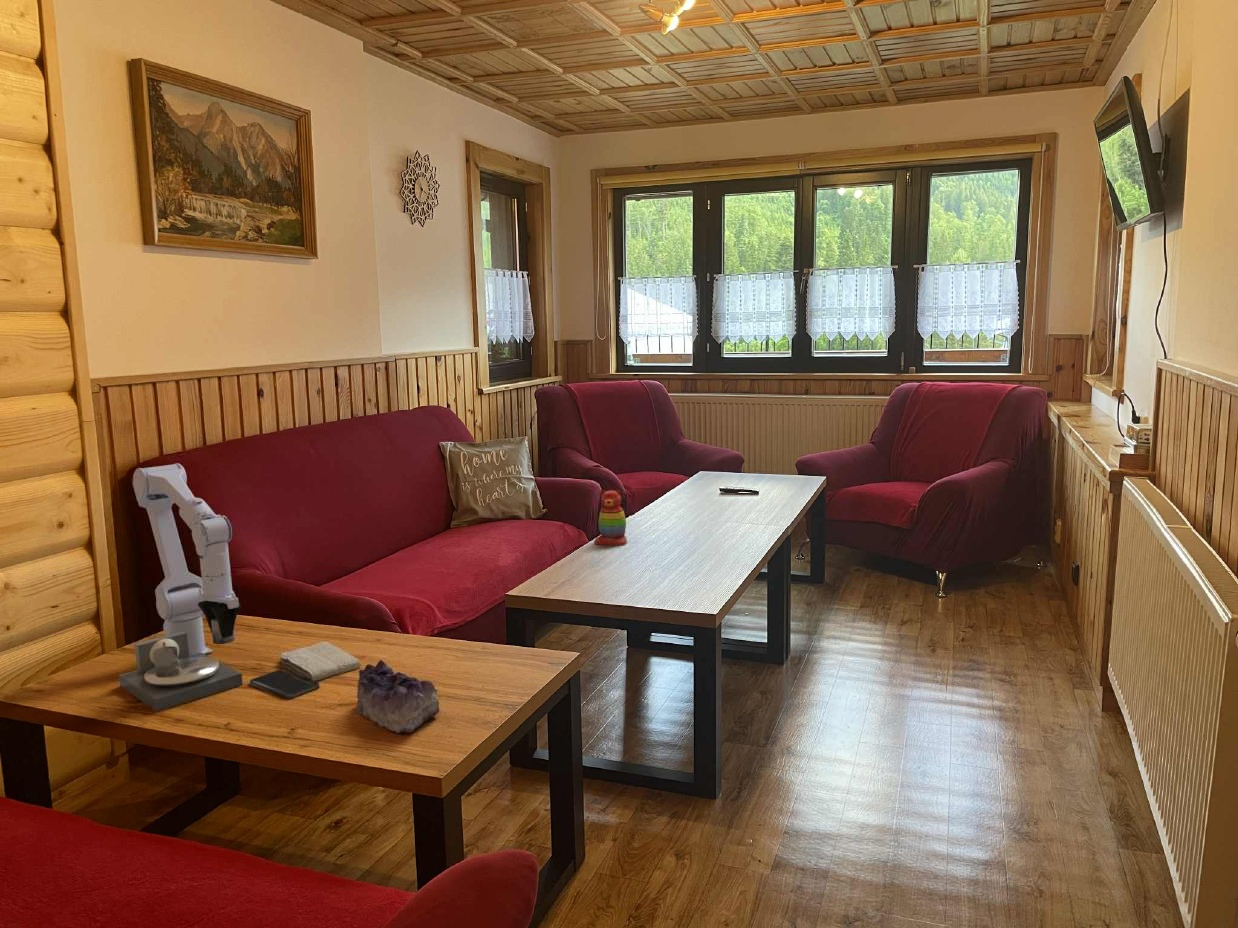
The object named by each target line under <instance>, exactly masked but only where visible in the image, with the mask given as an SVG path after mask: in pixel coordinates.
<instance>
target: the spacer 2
mask: <svg viewBox="0 0 1238 928" xmlns="http://www.w3.org/2000/svg"><path fill="white" fill-rule="evenodd" d="M211 626H212V633H211V636H212V638H211V639H212V644H214V645H226V644H229V643H233V642H234V641H236V635H235V630H234V631H233V636H230V637H226V638H222V636H221V634H220V630H219V625H218V622H217V619H216V617H215V618H213V619H211Z"/></svg>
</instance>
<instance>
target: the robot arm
mask: <svg viewBox="0 0 1238 928" xmlns="http://www.w3.org/2000/svg"><path fill="white" fill-rule="evenodd" d="M187 480H188V478H187V473H186V469H185V468H184V466H183V465H182V464H180V463H174V464H167V465H159V466H151V467H143V468H141V467H138V468H136V469H135V471H134V473H133V476H132V487H133V490H134V493H135V494H134V495H135V497H136V502H138V506H139V507H141V508H144V509H146V512H147V514H148V518H149V521H150V522H149V523H150V525H151V530H152V533H153V538H154V540H155V544H156V549H157V552H158V556H159V560H160V563H161V567H162V570H163V573H164V578H163V580H162V581H160V583H159V584H158V585H157V586H156V588H155V590H154V593H155V599H156V602H155V604H156V605H155V606H156V610H157V613H158V615H159V616H160V618H161V619H163V620H164V622H163V626H162V629H163V636H166V635H170V634H174V633H178V632H182V631H184V632H186V633H187V640H188V650H189V655H193V654H196V653H200V652H201V653H203V654H205V655H207V654H210V653H213V649H211V648H209V647H207V646H206V643H205V633H204V625H203V615H204V617H205V620H206V621H207V625H208V627H209V630H210V632H211V634H212V626H211V619H213V618H215V617H216V619H217V622H218V625H219V630H220V634H221V636H222V638H226V637H230V636H233V631H234V632H235V624H236V619H237V617H238V613H239V611H240V609H241V608H242V607H241V603H239V598H238V597H237V596H236V594H235V592H234V590H233V585H232V573H231V563H230V554H229V543H230V541H231V540H232V537H233V529H232V525H231V522H230V519H228V518H227V516H226V515H221V514H216V513H215V512H214V511H213V509H212V508H211V507H210V506H209V505H208V503H206V501H205V500H204V499H202V498H200V497H196V496H194V493H192V492H193V491H191V489H190V488H189V486H188V485H187V483H188V482H187ZM173 504H176V505H177V506H178V507H179V509H178V513H179V516H180V518H181V519H182V520H183V521H184V522H185V524H186V526H187V527H188V528H189V529H190V530H191V536H192V541H193V543H194V545H195V551H196V554H197V556H199V563H200V573H201V574H200V575H201V577H200V576H198V575H196V574H194V573H192V572H190V571H189V570H188V566H187V562H186V559H185V554H184V550H183V547H182V544H181V543H182V542H181V540H180V537H179V532H178V528H177V525H176V520H175V517H174V513H173V510H172V507H173Z"/></svg>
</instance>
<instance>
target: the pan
mask: <svg viewBox="0 0 1238 928" xmlns="http://www.w3.org/2000/svg"><path fill="white" fill-rule="evenodd" d="M209 657H210V656H209ZM209 657H190V658H183V659H178V663H179V673H178V674H176V675H173V676H169V677H156V674H155V667H153V668H151V669H150V670H148V671H147V672H146V673H145V675H144V677H145V682H146V683H148V684H150V685H155V686H174V685H181V684H187V683H191V682H195V681H198V680H201V679H204V678H206V677H209V676H211V675H212V674H214V673H215V672H217V670H218V669H219V662H220V661H219V662H218V660H217V659H216V658H213V657H211V658H209Z"/></svg>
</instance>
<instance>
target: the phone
mask: <svg viewBox="0 0 1238 928" xmlns="http://www.w3.org/2000/svg"><path fill="white" fill-rule="evenodd" d="M249 685H250V686H252V687H254V688H256V689H260V690H262V691H264V692H266V693H269V694H272V695H274V696H277V697H279V698H281V699H284V700H293V699H296V698H298V697H300V696H303V695H306V694H309V693H311V692H313V691H317V690H319V689H320V688H321V687H320V683H319V682H318V681H312V680H309V679H307V678H304V677H301V676H300V675H298V674H296V673H294V672H290V671H288V670H286V669H277V670H275V671H272V672H269V673H266V674H265V673H264V674H263V675H260V676H257V677H254V678H251V679H250V680H249Z"/></svg>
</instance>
